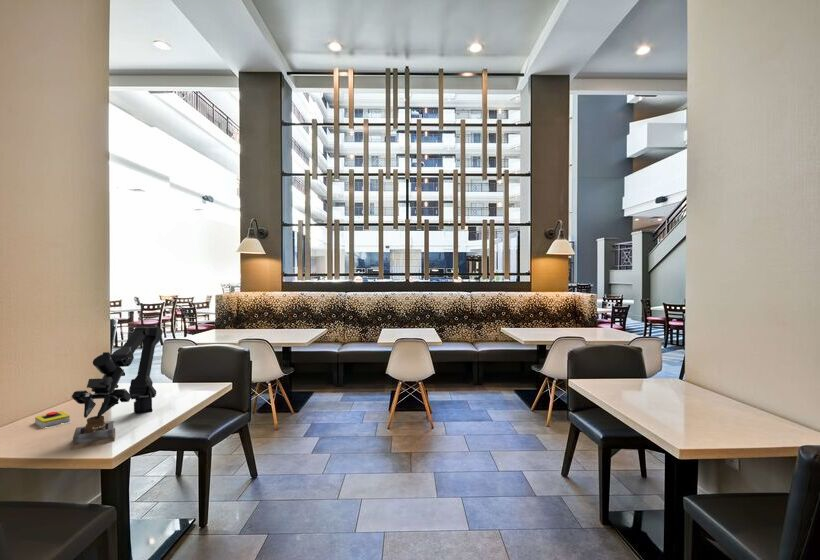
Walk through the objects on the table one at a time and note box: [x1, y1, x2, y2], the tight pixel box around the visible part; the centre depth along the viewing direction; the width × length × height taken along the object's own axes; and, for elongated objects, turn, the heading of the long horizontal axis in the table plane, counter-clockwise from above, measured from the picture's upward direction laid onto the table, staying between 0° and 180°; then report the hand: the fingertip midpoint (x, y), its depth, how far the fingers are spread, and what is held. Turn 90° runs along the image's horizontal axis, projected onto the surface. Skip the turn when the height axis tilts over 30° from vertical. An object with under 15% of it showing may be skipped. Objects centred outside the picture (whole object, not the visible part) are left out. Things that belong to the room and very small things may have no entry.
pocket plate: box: [70, 420, 116, 450], centre depth 150 cm, size 12×12×4 cm
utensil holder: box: [85, 401, 106, 433], centre depth 150 cm, size 6×6×12 cm
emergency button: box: [34, 410, 73, 430], centre depth 169 cm, size 9×4×15 cm
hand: (91, 417), depth 148 cm, fingers open, 4 cm apart
